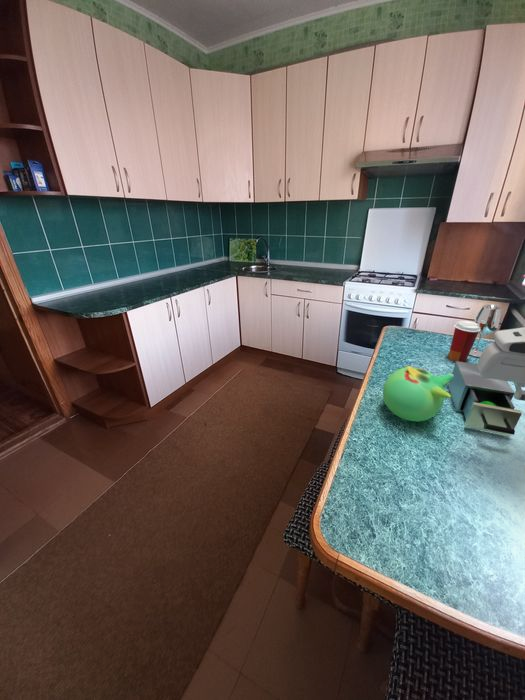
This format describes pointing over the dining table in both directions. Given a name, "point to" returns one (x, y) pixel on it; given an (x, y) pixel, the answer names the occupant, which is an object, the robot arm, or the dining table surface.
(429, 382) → the toy bird
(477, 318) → the wineglass
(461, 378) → the grey drawer cabinet
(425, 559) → the dining table surface
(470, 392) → the drawer
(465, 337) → the coffee cup
